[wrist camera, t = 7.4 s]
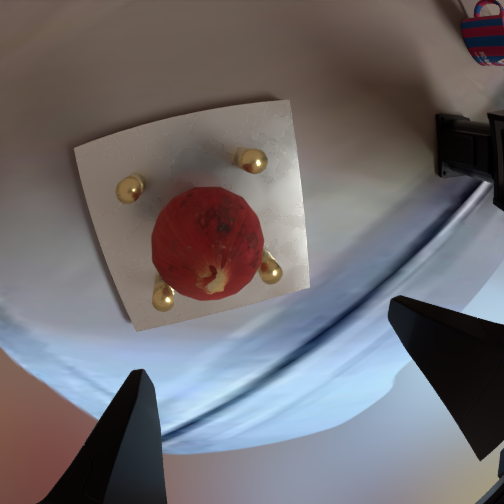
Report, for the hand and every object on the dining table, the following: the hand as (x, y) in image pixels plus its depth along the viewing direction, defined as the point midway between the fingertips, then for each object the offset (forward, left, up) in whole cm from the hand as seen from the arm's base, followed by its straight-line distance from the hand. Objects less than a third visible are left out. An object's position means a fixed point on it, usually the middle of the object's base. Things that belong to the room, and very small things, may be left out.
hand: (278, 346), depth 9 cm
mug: (-35, -20, -12) cm, 42 cm away
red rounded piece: (+1, -1, -11) cm, 11 cm away
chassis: (+1, -1, -12) cm, 12 cm away
